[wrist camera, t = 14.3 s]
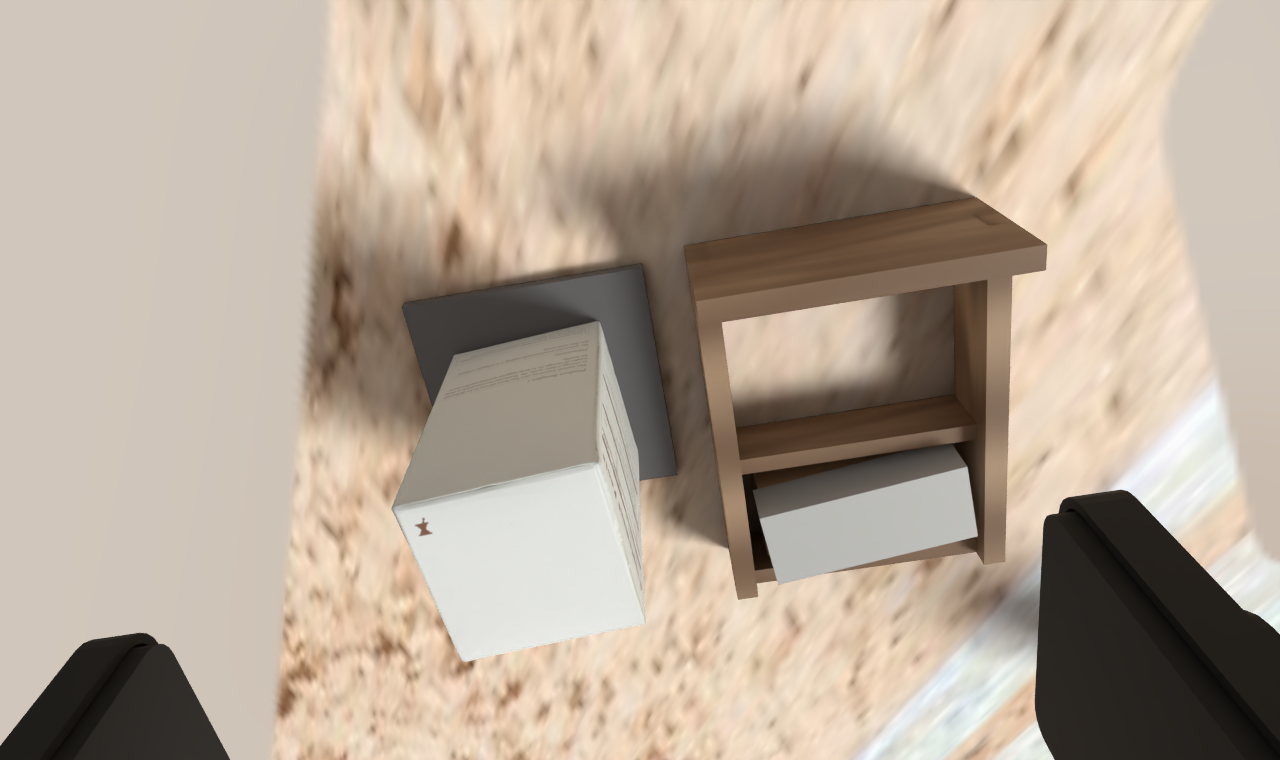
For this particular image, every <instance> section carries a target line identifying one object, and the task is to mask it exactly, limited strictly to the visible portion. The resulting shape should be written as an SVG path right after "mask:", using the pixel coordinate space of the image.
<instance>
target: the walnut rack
mask: <svg viewBox="0 0 1280 760" xmlns="http://www.w3.org/2000/svg"><path fill="white" fill-rule="evenodd" d="M684 250H685V257H686V264H687V271H688V277H689V284H690V291H691V298H692V304H693V311H694V318H695V325H696V331H697V338H698V345H699V351H700V358H701V365H702V372H703V378H704V385H705V392H706V399H707V405H708V412H709V419H710V426H711V432H712V439H713V446H714V453H715V459H716V466H717V473H718V480H719V486H720V493H721V500H722V506H723V513H724V520H725V527H726V533H727V540H728V547H729V553H730V558H731V564H732V569H733V575H734V580H735V586H736V591H737V597H738V600H739V599H746V598H753V597H758V591H757V584H756V583H763V582H770V581H777V578H776V575H775V571H774V568H773V564H772V561H771V557H770V555H767V552H766V548H765V544H764V540H763V536H762V533H755V534H750V532H749V524H748V517H747V509H746V502H745V494H744V487H743V479H742V475H744V474H750V473H757V472H764V471H770V470H777V469H784V468H790V467H797V466H804V465H810V464H817V463H824V462H830V461H837V460H843V459H850V458H857V457H863V456H870V455H877V454H883V453H890V452H897V451H903V450H910V449H917V448H923V447H930V446H937V445H943V444H950V443H955V449H956V451H957V452H958V454H959V455H960V456H961V458H962V459H963V461H964V462H965V464H966V465H967V467H968V474H969V480H970V487H971V494H972V500H973V507H974V514H975V520H976V527H977V534H978V536H977V537H973V538H969V539H965V540H961V541H956V542H952V543H948V544H944V545H940V546H936V547H932V548H928V549H923V550H919V551H915V552H911V553H907V554H903V555H899V556H895V557H890V558H886V559H882V560H878V561H874V562H870V563H866V564H862V565H857V566H853V567H849V568H845V569H841V570H837V571H833V572H839V571H846V570H853V569H860V568H867V567H874V566H881V565H888V564H895V563H902V562H909V561H916V560H923V559H930V558H937V557H944V556H951V555H958V554H965V553H972V552H977V554H978V555H979V557H980V559H981V560H982V562H983V564H984V565H985V564H992V563H999V562H1005V539H1006V500H1007V461H1008V422H1009V383H1010V344H1011V305H1012V276H1013V275H1019V274H1025V273H1032V272H1038V271H1044V270H1046V258H1047V244H1046V243H1044V242H1043V241H1041V240H1040V239H1038V238H1037V237H1035V236H1034V235H1032V234H1031V233H1029V232H1028V231H1026V230H1025V229H1023V228H1022V227H1020V226H1019V225H1017V224H1016V223H1014V222H1013V221H1011V220H1010V219H1008V218H1007V217H1005V216H1004V215H1002V214H1001V213H999V212H998V211H996V210H995V209H993V208H992V207H990V206H989V205H987V204H986V203H984V202H983V201H981V200H980V199H978V198H977V197H976V198H970V199H964V200H957V201H951V202H945V203H939V204H933V205H927V206H921V207H915V208H909V209H903V210H897V211H891V212H885V213H879V214H873V215H867V216H861V217H855V218H849V219H843V220H837V221H831V222H825V223H819V224H813V225H807V226H801V227H794V228H788V229H782V230H776V231H770V232H764V233H758V234H752V235H746V236H740V237H734V238H728V239H722V240H716V241H710V242H704V243H698V244H692V245H686V246H684ZM951 285H954V375H955V395H950V396H943V397H937V398H930V399H924V400H917V401H911V402H904V403H898V404H891V405H884V406H878V407H871V408H865V409H858V410H852V411H845V412H839V413H832V414H826V415H819V416H813V417H806V418H800V419H793V420H787V421H780V422H774V423H767V424H761V425H754V426H748V427H741V428H736V427H735V420H734V412H733V405H732V397H731V390H730V382H729V375H728V367H727V360H726V352H725V345H724V337H723V330H722V323H721V322H726V321H732V320H739V319H745V318H751V317H757V316H763V315H770V314H776V313H782V312H788V311H795V310H801V309H807V308H813V307H820V306H826V305H832V304H838V303H845V302H851V301H857V300H863V299H869V298H876V297H882V296H888V295H894V294H901V293H907V292H913V291H919V290H926V289H932V288H938V287H944V286H951ZM829 573H832V572H829ZM824 574H826V573H824Z"/></svg>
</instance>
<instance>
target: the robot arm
mask: <svg viewBox="0 0 1280 760" xmlns="http://www.w3.org/2000/svg"><path fill="white" fill-rule="evenodd" d="M1035 711H1036V717H1037V721H1038V725H1039V728H1040V731H1041V734H1042V736H1043V738H1044V740H1045V742H1046V744H1047V746H1048V748H1049V750H1050V752H1051V754H1052V755H1053V757H1054V759H1055V760H1280V634H1279V633H1278V632H1277V631H1276V630H1275V629H1274V628H1273V627H1272V626H1270V625H1269V624H1268V623H1267V622H1266V621H1264V620H1263V619H1262V618H1261V617H1259V616H1258V615H1256V614H1253V613H1251V612H1248V611H1246V610H1243V609H1242V608H1241V607H1240V606H1239V605H1238V604H1237V603H1236V602H1235V601H1234V600H1233V599H1232V598H1231V597H1230V596H1229V595H1228V593H1227V592H1226V591H1225V590H1224V589H1223V588H1222V587H1221V586H1220V585H1219V584H1218V583H1217V582H1216V581H1215V580H1214V579H1213V578H1212V577H1211V576H1210V575H1209V574H1208V573H1207V572H1206V570H1205V569H1204V568H1203V567H1202V566H1201V565H1200V564H1199V563H1198V562H1197V561H1196V560H1195V559H1194V558H1193V557H1192V556H1191V555H1190V554H1189V553H1188V552H1187V551H1186V550H1185V549H1184V548H1183V546H1182V545H1181V544H1180V543H1179V542H1178V541H1177V540H1176V539H1175V538H1174V537H1173V536H1172V535H1171V534H1170V533H1169V532H1168V531H1167V530H1166V529H1165V528H1164V527H1163V526H1162V525H1161V523H1160V522H1159V521H1158V520H1157V519H1156V518H1155V517H1154V516H1153V515H1152V514H1151V513H1150V512H1149V511H1148V510H1147V509H1146V508H1145V507H1144V506H1143V505H1142V504H1141V503H1140V502H1139V501H1138V499H1137V498H1136V497H1135V496H1133V495H1132V494H1131V493H1129V492H1128V491H1125V490H1116V491H1109V492H1102V493H1095V494H1088V495H1082V496H1075V497H1068V498H1066V499H1064V500H1063V501H1062V503H1061V505H1060V509H1059V513H1058V514H1052V515H1048V516H1047V517H1046V519H1045V521H1044V527H1043V546H1042V566H1041V587H1040V607H1039V627H1038V648H1037V668H1036V688H1035ZM0 760H230V759H229V757H228V755H227V753H226V751H225V749H224V747H223V745H222V744H221V742H220V740H219V738H218V736H217V734H216V732H215V731H214V729H213V727H212V725H211V723H210V721H209V719H208V717H207V716H206V714H205V712H204V710H203V708H202V706H201V704H200V702H199V700H198V699H197V697H196V695H195V693H194V691H193V689H192V687H191V686H190V684H189V682H188V680H187V678H186V676H185V675H184V673H183V670H182V669H181V667H180V665H179V663H178V661H177V659H176V657H175V655H174V654H173V652H172V651H171V650H170V648H169V647H167V646H166V645H164V644H158V643H157V642H156V640H155V639H154V638H153V637H152V636H150V635H148V634H146V633H136V634H129V635H123V636H115V637H108V638H102V639H94V640H91V641H88V642H86V643H83V644H82V645H81V646H80V647H79V648H78V649H77V650H76V651H75V652H74V653H73V655H72V656H71V657H70V658H69V660H68V661H67V662H66V664H65V665H64V666H63V667H62V669H61V670H60V671H59V672H58V674H57V675H56V676H55V677H54V679H53V680H52V681H51V682H50V684H49V685H48V686H47V687H46V689H45V690H44V691H43V693H42V694H41V695H40V696H39V698H38V699H37V700H36V701H35V703H34V704H33V705H32V706H31V708H30V709H29V710H28V711H27V713H26V714H25V715H24V716H23V718H22V719H21V720H20V722H19V723H18V724H17V725H16V727H15V728H14V729H13V731H12V732H11V733H10V734H9V736H8V737H7V738H6V739H5V741H4V742H3V743H2V745H1V746H0Z"/></svg>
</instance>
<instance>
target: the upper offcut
mask: <svg viewBox="0 0 1280 760" xmlns="http://www.w3.org/2000/svg"><path fill="white" fill-rule="evenodd" d="M753 494H754V498H755V502H756V506H757V510H758V515H759V519H760V522H761V526H762V529H763V533H764V536H765V540H766V543H767V547H768V550H769V554H770V557H771V561H772V564H773V568H774V571H775V575H776V578H777V582H778V585H779V584H783V583H787V582H791V581H796V580H800V579H804V578H808V577H812V576H816V575H820V574H824V573H829V572H833V571H837V570H841V569H845V568H849V567H853V566H857V565H862V564H866V563H870V562H874V561H878V560H882V559H886V558H890V557H895V556H899V555H903V554H907V553H911V552H915V551H919V550H923V549H928V548H932V547H936V546H940V545H944V544H948V543H952V542H956V541H961V540H965V539H969V538H973V537H977V536H978V534H977V527H976V520H975V514H974V507H973V500H972V494H971V487H970V480H969V474H968V467H967V465H966V464H965V462H964V461H963V459H962V458H961V456H960V455H959V454H958V452H957V451H956V449H955V448H954V446H953V445H952V443H950V444H943V445H937V446H930V447H923V448H917V449H912V450H908V451H904V452H900V453H896V454H892V455H889V456H885V457H881V458H877V459H873V460H869V461H865V462H861V463H857V464H853V465H849V466H845V467H842V468H838V469H834V470H830V471H826V472H822V473H818V474H814V475H810V476H806V477H802V478H799V479H795V480H791V481H787V482H783V483H779V484H775V485H771V486H767V487H763V488H759V489H755V490H753Z"/></svg>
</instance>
